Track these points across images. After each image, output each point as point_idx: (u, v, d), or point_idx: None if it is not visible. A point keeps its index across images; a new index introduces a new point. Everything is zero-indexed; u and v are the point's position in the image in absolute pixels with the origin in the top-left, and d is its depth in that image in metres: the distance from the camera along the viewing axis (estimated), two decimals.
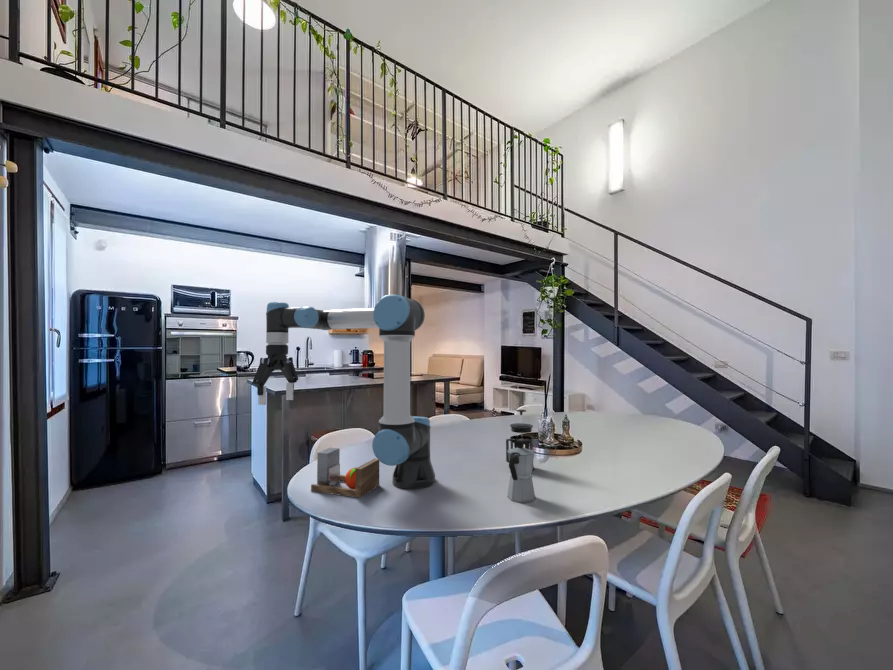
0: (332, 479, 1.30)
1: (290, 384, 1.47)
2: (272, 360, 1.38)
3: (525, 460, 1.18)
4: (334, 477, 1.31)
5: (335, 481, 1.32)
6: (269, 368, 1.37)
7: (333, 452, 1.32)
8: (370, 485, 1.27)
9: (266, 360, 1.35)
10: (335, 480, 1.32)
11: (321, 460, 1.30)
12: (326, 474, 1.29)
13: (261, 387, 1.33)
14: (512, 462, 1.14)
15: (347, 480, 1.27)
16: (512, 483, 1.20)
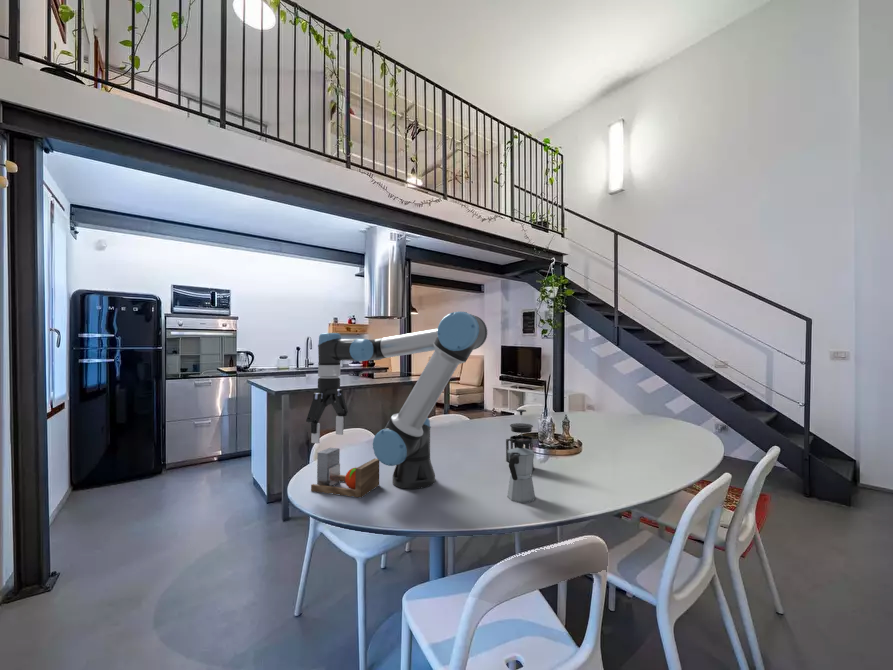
0: (332, 479, 1.30)
1: (340, 418, 1.39)
2: (325, 395, 1.30)
3: (525, 460, 1.18)
4: (334, 477, 1.31)
5: (335, 481, 1.32)
6: (322, 403, 1.30)
7: (333, 452, 1.32)
8: (370, 485, 1.27)
9: (320, 396, 1.27)
10: (335, 480, 1.32)
11: (321, 460, 1.30)
12: (326, 474, 1.29)
13: (315, 425, 1.26)
14: (512, 462, 1.14)
15: (347, 480, 1.27)
16: (512, 483, 1.20)
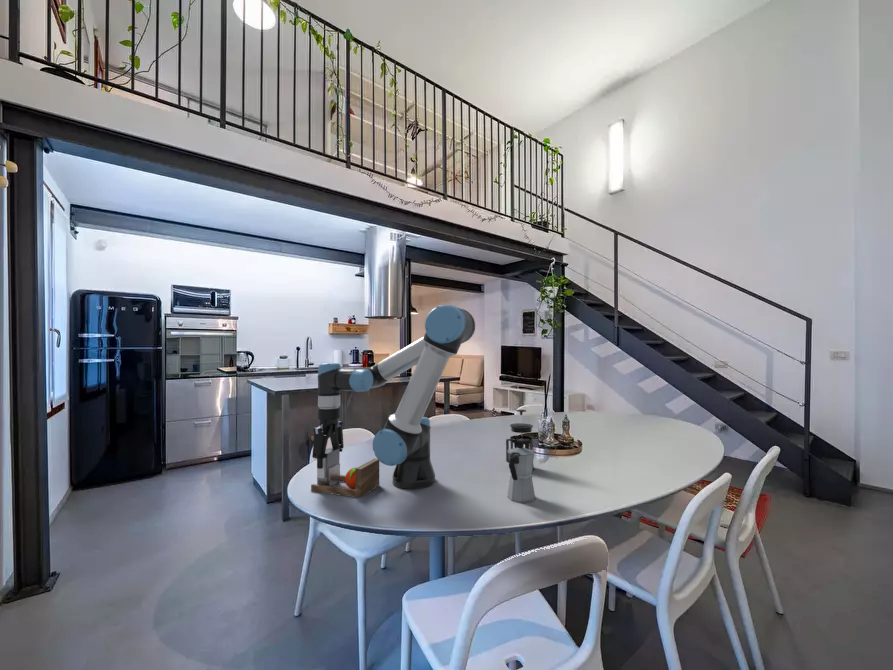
0: (332, 479, 1.30)
1: None
2: (325, 426, 1.30)
3: (525, 460, 1.18)
4: (334, 477, 1.31)
5: (335, 481, 1.32)
6: (324, 436, 1.30)
7: (333, 452, 1.32)
8: (370, 485, 1.27)
9: (320, 431, 1.27)
10: (335, 480, 1.32)
11: None
12: (326, 474, 1.29)
13: (321, 460, 1.28)
14: (512, 462, 1.14)
15: (347, 480, 1.27)
16: (512, 483, 1.20)
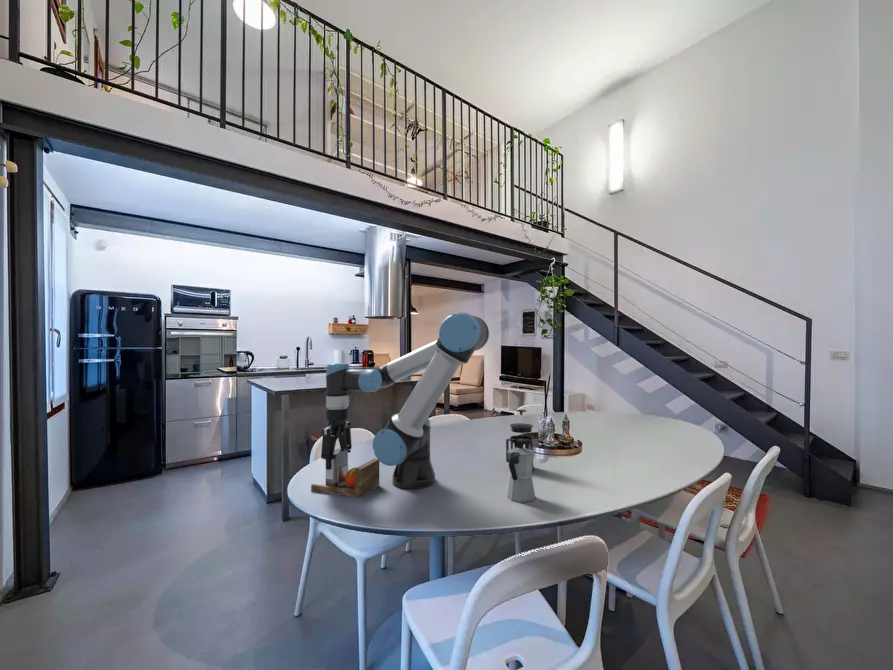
0: (341, 480, 1.29)
1: None
2: (334, 427, 1.29)
3: (525, 460, 1.18)
4: (342, 478, 1.30)
5: (344, 482, 1.31)
6: (332, 437, 1.29)
7: (341, 453, 1.31)
8: (370, 485, 1.27)
9: (329, 431, 1.26)
10: (344, 481, 1.31)
11: None
12: (335, 475, 1.28)
13: (329, 461, 1.27)
14: (512, 462, 1.14)
15: (347, 480, 1.27)
16: (512, 483, 1.20)
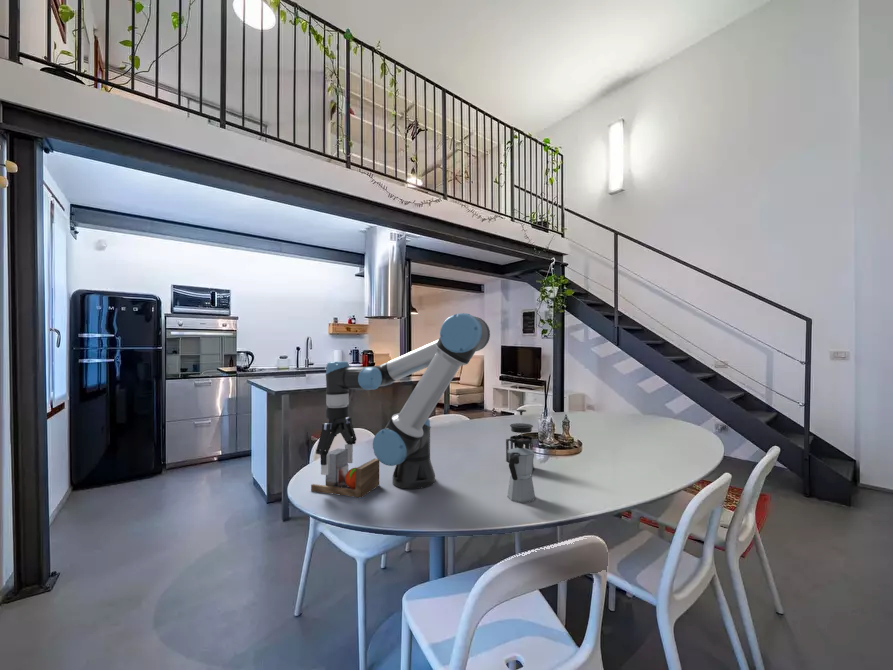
0: (341, 480, 1.29)
1: (349, 446, 1.38)
2: (334, 425, 1.29)
3: (525, 460, 1.18)
4: (342, 478, 1.30)
5: (344, 482, 1.31)
6: (331, 434, 1.28)
7: (342, 453, 1.31)
8: (370, 485, 1.27)
9: (329, 426, 1.26)
10: (344, 481, 1.31)
11: (329, 461, 1.28)
12: (335, 475, 1.28)
13: (324, 456, 1.24)
14: (512, 462, 1.14)
15: (347, 480, 1.27)
16: (512, 483, 1.20)
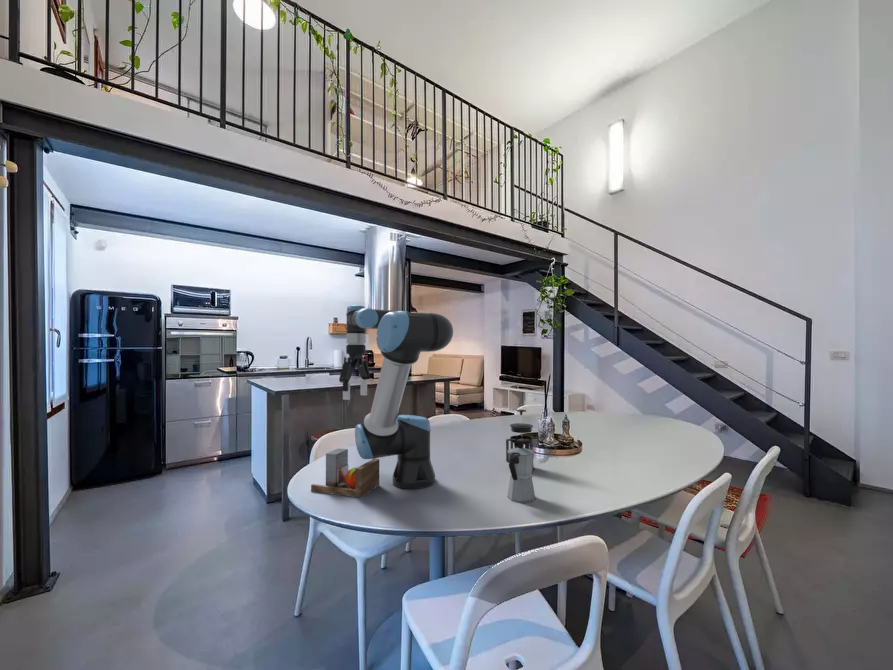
0: (341, 480, 1.29)
1: (364, 381, 1.59)
2: (353, 359, 1.50)
3: (525, 460, 1.18)
4: (342, 478, 1.30)
5: (344, 482, 1.31)
6: (351, 366, 1.49)
7: (342, 453, 1.31)
8: (370, 485, 1.27)
9: (350, 359, 1.47)
10: (344, 481, 1.31)
11: (329, 461, 1.28)
12: (335, 475, 1.28)
13: (346, 384, 1.45)
14: (512, 462, 1.14)
15: (347, 480, 1.27)
16: (512, 483, 1.20)
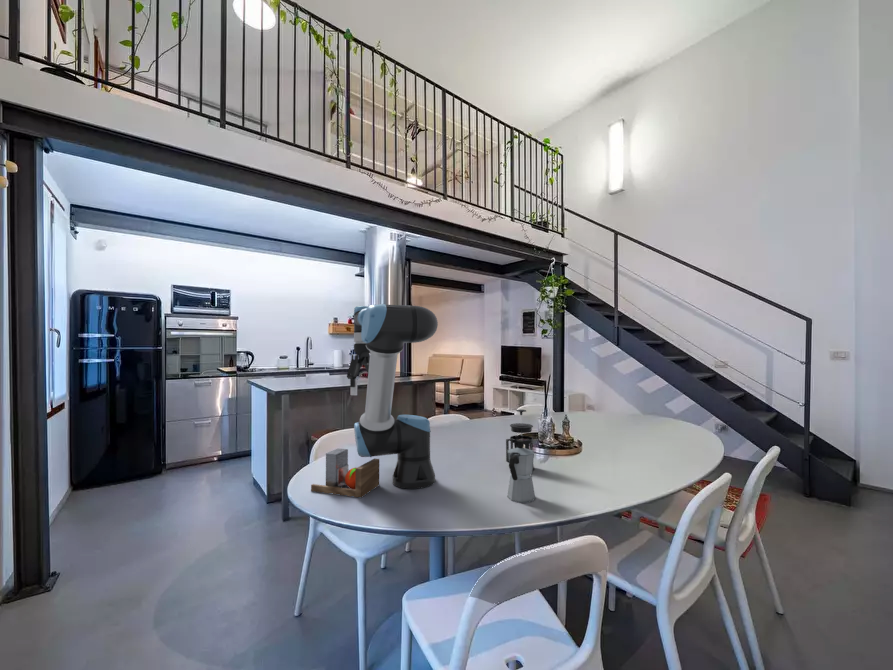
0: (341, 480, 1.29)
1: None
2: (360, 357, 1.58)
3: (525, 460, 1.18)
4: (342, 478, 1.30)
5: (344, 482, 1.31)
6: (358, 363, 1.58)
7: (342, 453, 1.31)
8: (370, 485, 1.27)
9: (357, 356, 1.55)
10: (344, 481, 1.31)
11: (329, 461, 1.28)
12: (335, 475, 1.28)
13: (353, 380, 1.54)
14: (512, 462, 1.14)
15: (347, 480, 1.27)
16: (512, 483, 1.20)
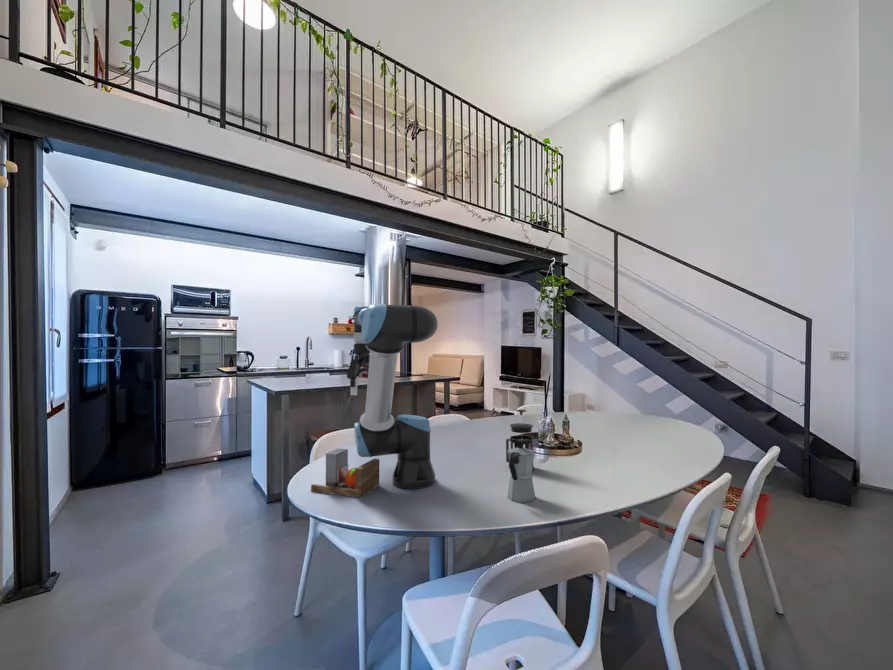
0: (341, 480, 1.29)
1: None
2: (360, 357, 1.58)
3: (525, 460, 1.18)
4: (342, 478, 1.30)
5: (344, 482, 1.31)
6: (358, 363, 1.58)
7: (342, 453, 1.31)
8: (370, 485, 1.27)
9: (357, 356, 1.55)
10: (344, 481, 1.31)
11: (329, 461, 1.28)
12: (335, 475, 1.28)
13: (353, 380, 1.54)
14: (512, 462, 1.14)
15: (347, 480, 1.27)
16: (512, 483, 1.20)
